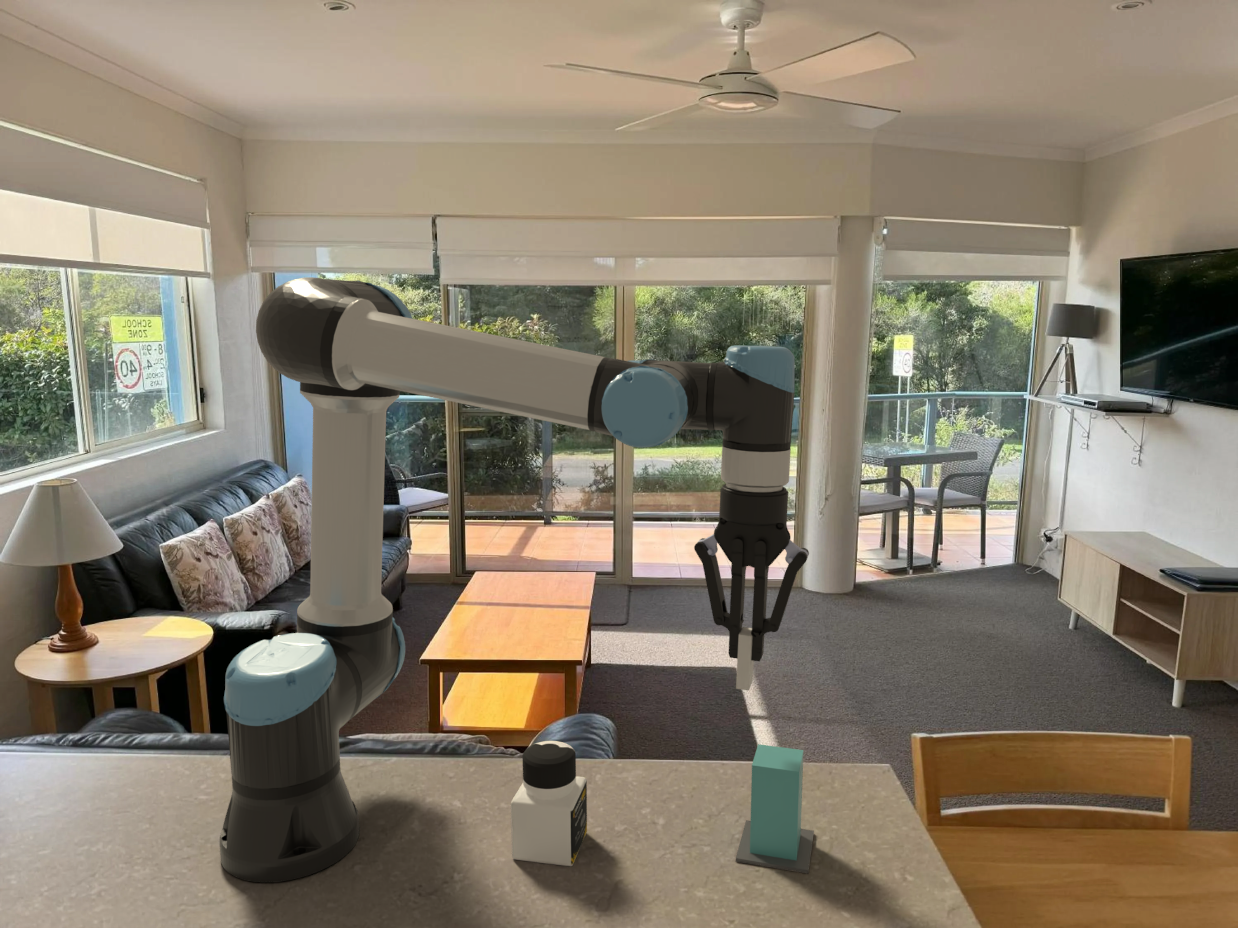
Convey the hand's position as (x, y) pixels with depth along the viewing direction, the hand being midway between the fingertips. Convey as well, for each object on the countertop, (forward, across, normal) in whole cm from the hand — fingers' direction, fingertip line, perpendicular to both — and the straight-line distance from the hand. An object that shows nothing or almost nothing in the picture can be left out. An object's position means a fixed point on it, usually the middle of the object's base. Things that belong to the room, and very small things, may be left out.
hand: (744, 684), depth 102 cm
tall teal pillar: (+18, -5, +2) cm, 18 cm away
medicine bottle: (+19, +20, +10) cm, 29 cm away
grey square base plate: (+18, -5, +2) cm, 19 cm away
